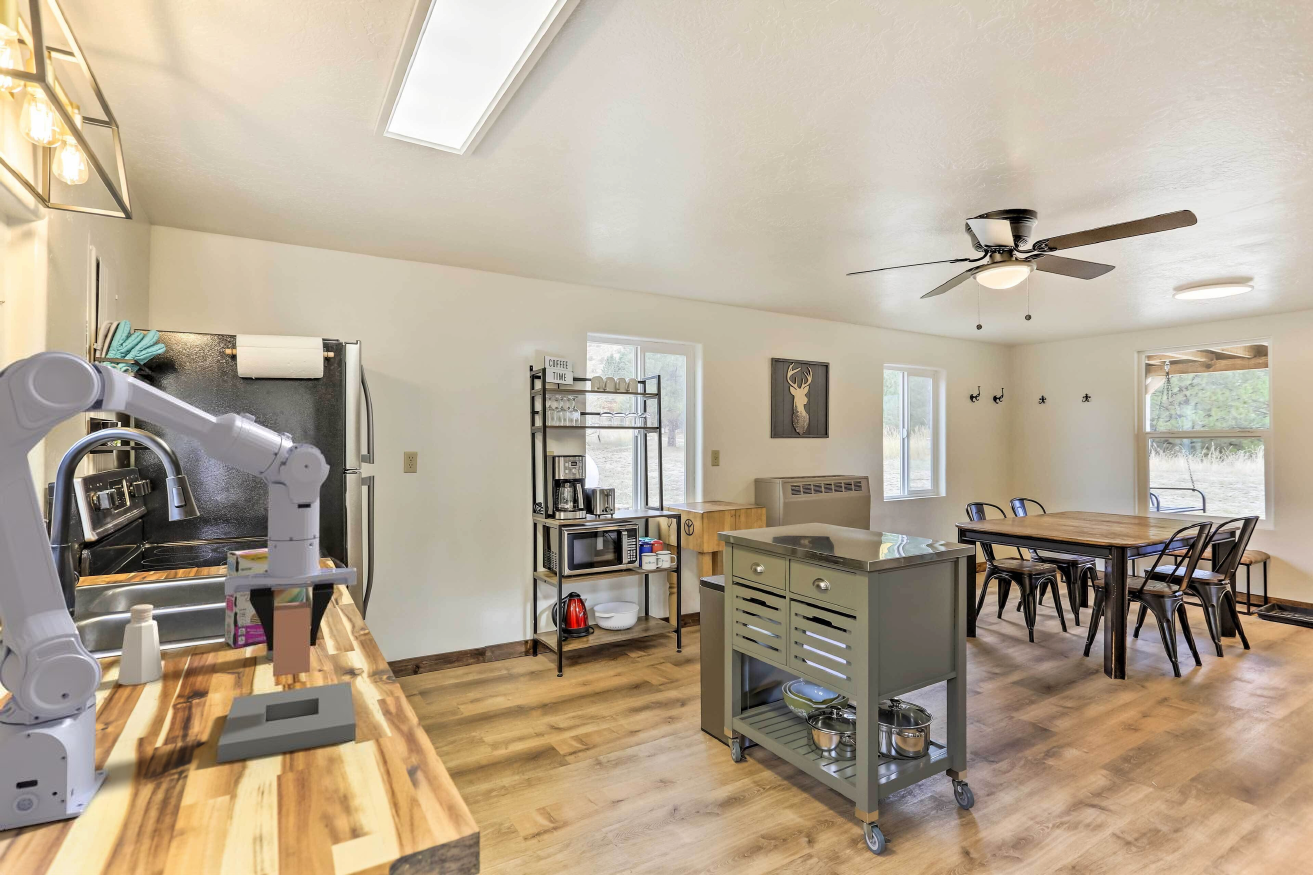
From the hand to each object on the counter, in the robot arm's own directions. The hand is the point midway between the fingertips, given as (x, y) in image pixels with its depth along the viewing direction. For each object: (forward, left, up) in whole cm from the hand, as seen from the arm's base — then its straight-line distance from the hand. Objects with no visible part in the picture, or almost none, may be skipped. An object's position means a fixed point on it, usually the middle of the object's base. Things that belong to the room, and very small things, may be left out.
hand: (292, 646), depth 86 cm
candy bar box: (+45, +6, -10) cm, 47 cm away
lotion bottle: (+33, +2, -10) cm, 35 cm away
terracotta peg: (0, 0, -3) cm, 3 cm away
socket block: (0, 0, -10) cm, 10 cm away
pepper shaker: (+29, +21, -10) cm, 37 cm away
